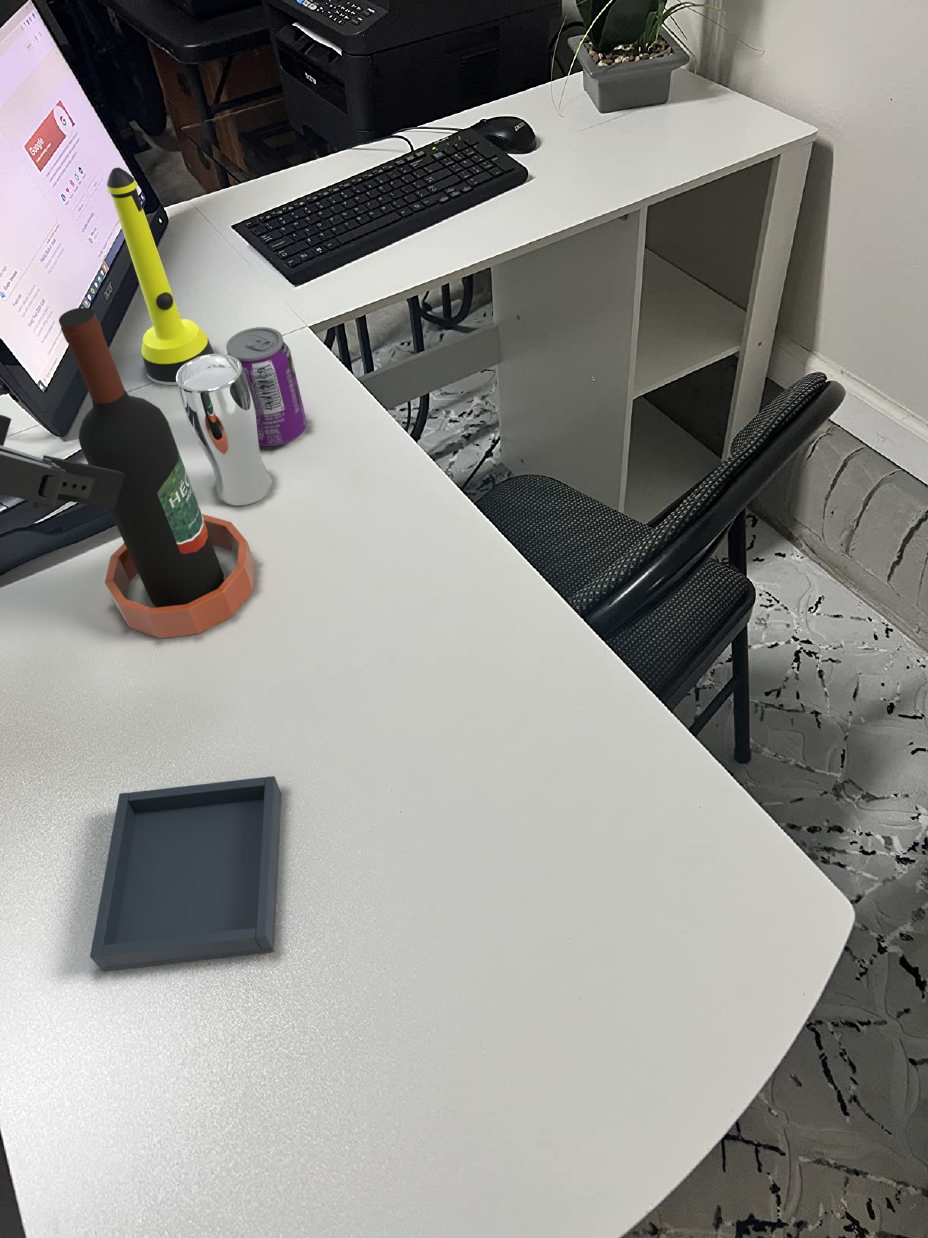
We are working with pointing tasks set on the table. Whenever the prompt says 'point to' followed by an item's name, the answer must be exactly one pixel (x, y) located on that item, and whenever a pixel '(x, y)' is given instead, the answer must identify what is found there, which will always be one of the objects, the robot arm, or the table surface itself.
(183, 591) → the wine bottle
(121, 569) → the faceted bangle
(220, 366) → the beer glass
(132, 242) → the flashlight
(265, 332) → the beverage can
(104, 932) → the tray
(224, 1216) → the table surface
